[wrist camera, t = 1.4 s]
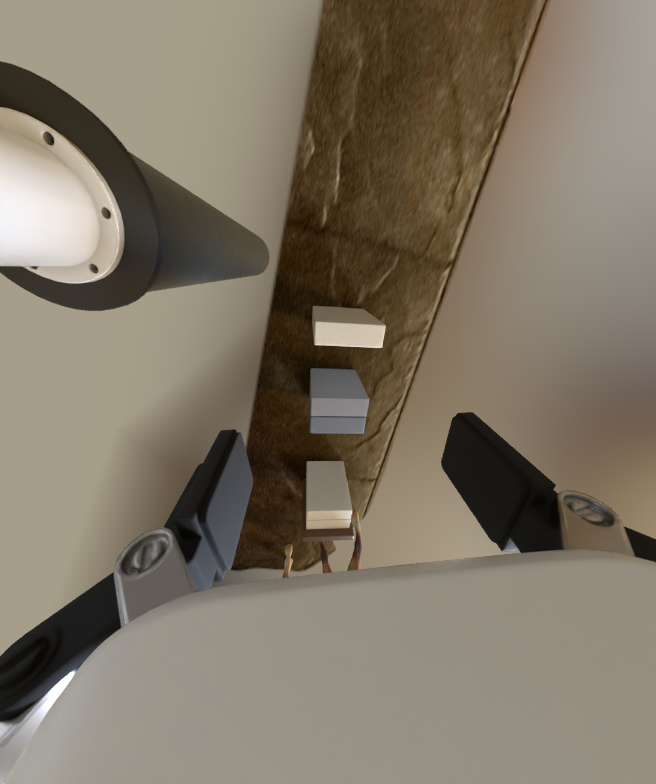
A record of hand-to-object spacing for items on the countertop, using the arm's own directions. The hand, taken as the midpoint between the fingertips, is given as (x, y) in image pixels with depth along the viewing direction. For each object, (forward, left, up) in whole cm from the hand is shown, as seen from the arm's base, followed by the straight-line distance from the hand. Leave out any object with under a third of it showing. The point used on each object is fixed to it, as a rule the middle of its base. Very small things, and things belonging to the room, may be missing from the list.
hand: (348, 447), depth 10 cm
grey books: (+2, -7, -21) cm, 22 cm away
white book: (+2, +2, -21) cm, 21 cm away
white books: (+2, -23, -21) cm, 31 cm away
